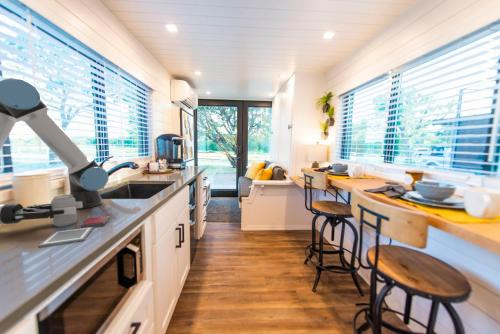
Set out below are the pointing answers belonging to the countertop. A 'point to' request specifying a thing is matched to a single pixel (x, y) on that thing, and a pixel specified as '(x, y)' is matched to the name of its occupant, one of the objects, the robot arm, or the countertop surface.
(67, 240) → the board
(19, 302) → the countertop surface
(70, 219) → the grey upright rounded block
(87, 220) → the ink pad
